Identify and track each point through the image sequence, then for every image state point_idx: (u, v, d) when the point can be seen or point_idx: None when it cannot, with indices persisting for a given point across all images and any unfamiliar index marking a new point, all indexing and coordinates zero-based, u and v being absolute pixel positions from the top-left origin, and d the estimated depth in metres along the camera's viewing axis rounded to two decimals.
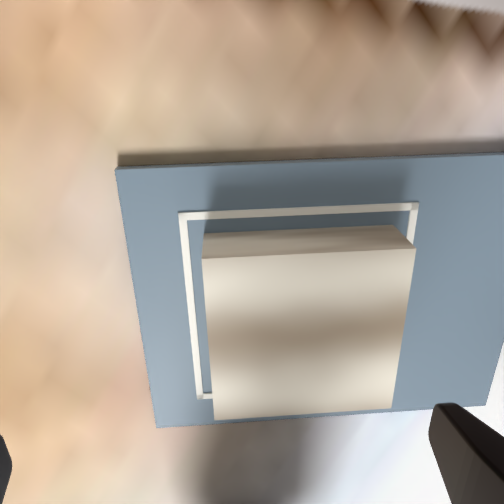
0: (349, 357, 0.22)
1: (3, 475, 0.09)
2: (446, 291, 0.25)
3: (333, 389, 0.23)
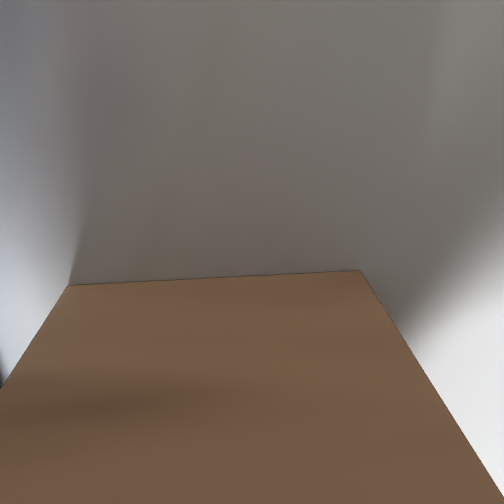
0: None
1: None
2: None
3: None
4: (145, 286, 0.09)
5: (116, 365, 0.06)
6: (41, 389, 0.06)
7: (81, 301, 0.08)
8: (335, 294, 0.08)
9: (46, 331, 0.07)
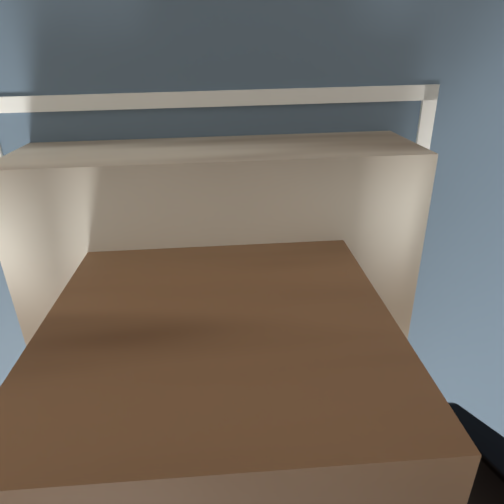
0: None
1: None
2: (482, 260, 0.14)
3: None
4: (155, 252, 0.10)
5: (134, 309, 0.08)
6: (73, 326, 0.07)
7: (101, 263, 0.09)
8: (320, 258, 0.09)
9: (73, 285, 0.09)
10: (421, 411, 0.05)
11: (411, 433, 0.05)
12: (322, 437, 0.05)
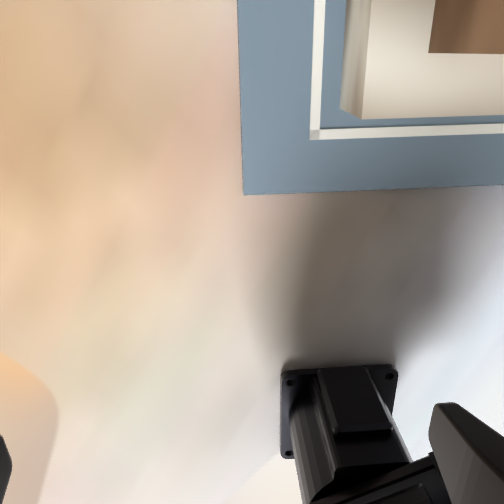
0: None
1: (3, 475, 0.09)
2: None
3: None
4: None
5: None
6: None
7: None
8: None
9: None
10: None
11: None
12: None
